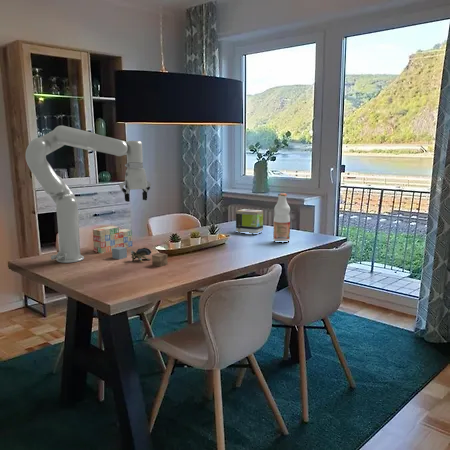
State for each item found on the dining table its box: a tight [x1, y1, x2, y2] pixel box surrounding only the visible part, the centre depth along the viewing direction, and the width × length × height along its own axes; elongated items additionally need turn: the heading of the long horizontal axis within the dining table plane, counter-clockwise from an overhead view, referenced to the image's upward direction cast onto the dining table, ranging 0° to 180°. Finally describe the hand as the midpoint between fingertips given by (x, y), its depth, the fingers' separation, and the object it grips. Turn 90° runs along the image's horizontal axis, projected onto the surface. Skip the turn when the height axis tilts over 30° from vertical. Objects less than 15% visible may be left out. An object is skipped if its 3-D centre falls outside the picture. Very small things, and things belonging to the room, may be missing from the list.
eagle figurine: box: [130, 247, 152, 262], centre depth 213 cm, size 8×7×9 cm
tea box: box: [235, 208, 264, 233], centre depth 282 cm, size 15×10×15 cm, turn 60°
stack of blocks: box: [92, 225, 133, 254], centre depth 238 cm, size 21×6×12 cm, turn 143°
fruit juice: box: [272, 193, 291, 242], centre depth 254 cm, size 9×9×28 cm
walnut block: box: [151, 252, 169, 268], centre depth 206 cm, size 5×5×5 cm
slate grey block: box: [111, 247, 128, 260], centre depth 219 cm, size 5×5×5 cm
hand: (136, 200), depth 221 cm, fingers open, 9 cm apart
